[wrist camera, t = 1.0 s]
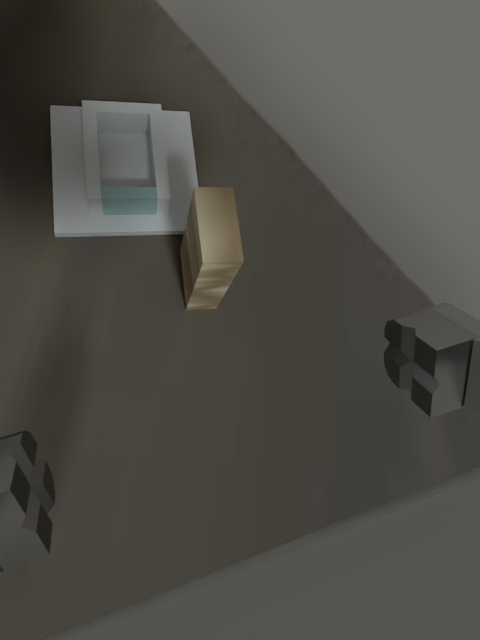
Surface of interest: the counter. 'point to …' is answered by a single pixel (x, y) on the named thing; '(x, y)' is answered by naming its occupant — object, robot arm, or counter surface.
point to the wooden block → (210, 247)
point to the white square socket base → (121, 169)
